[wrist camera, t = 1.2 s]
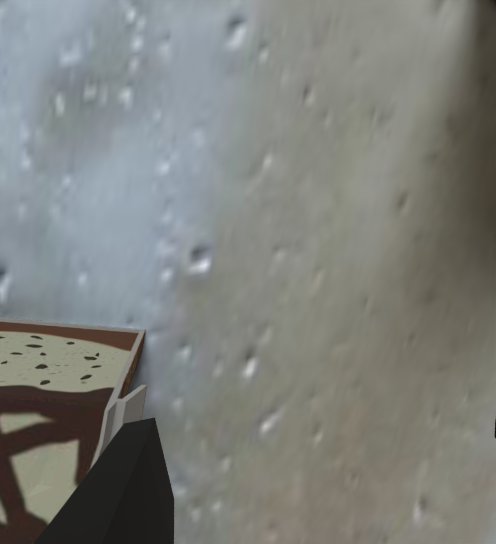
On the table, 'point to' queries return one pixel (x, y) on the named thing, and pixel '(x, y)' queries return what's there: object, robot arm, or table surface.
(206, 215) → the table surface
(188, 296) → the table surface
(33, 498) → the food container
